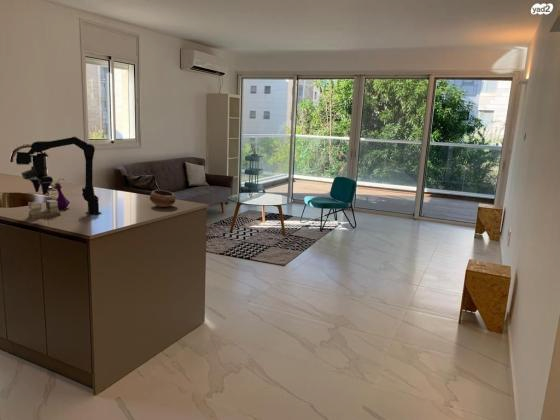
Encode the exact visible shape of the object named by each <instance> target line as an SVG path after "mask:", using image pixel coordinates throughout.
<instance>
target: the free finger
mask: <svg viewBox="0 0 560 420" xmlns="http://www.w3.org/2000/svg"><path fill="white" fill-rule="evenodd" d="M56 200H57V199H48V200H45V208H46V209H45V210H47V209H49V210H50V213H52V212H58V202H57V201H56Z"/></svg>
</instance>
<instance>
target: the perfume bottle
mask: <svg viewBox="0 0 560 420" xmlns="http://www.w3.org/2000/svg"><path fill="white" fill-rule="evenodd" d="M60 180H63V183H65V178H59V179H58V180H57V182H55V184H54V186H53V188H54V189H55V190H56V191H57V193H58V195H57V198H56V199H55V200H56V201H57V202H58V209H59V210H66V209H67V208H68V206H69V205H70V203H71V202H70V201H69V199H67V197H65V195H64V194H63V191H62V188H63V187H62V186H61V183H59V181H60Z"/></svg>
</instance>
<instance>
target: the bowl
mask: <svg viewBox="0 0 560 420" xmlns="http://www.w3.org/2000/svg"><path fill="white" fill-rule="evenodd" d="M149 200H150V201H151V203H152V204H154V206H157V207H159V208H167V207H171V206H173V205H174V204H175V202H176V195H175V194H174V193H173V192H171V191H168V190H163V189H155V190H154V189H153V190H152V192H151V193H150V195H149Z"/></svg>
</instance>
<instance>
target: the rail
mask: <svg viewBox="0 0 560 420" xmlns="http://www.w3.org/2000/svg"><path fill="white" fill-rule="evenodd" d="M27 204H28V218H31V219H33V220H34V219H41V218H49V217H50V218H51V217H56V216H58V217H59V216H61V211H59V210H60V209H58V212H52V213H50V210H49V209H47V210H46V209H42V204H41V202H39V201H28V203H27Z"/></svg>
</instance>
